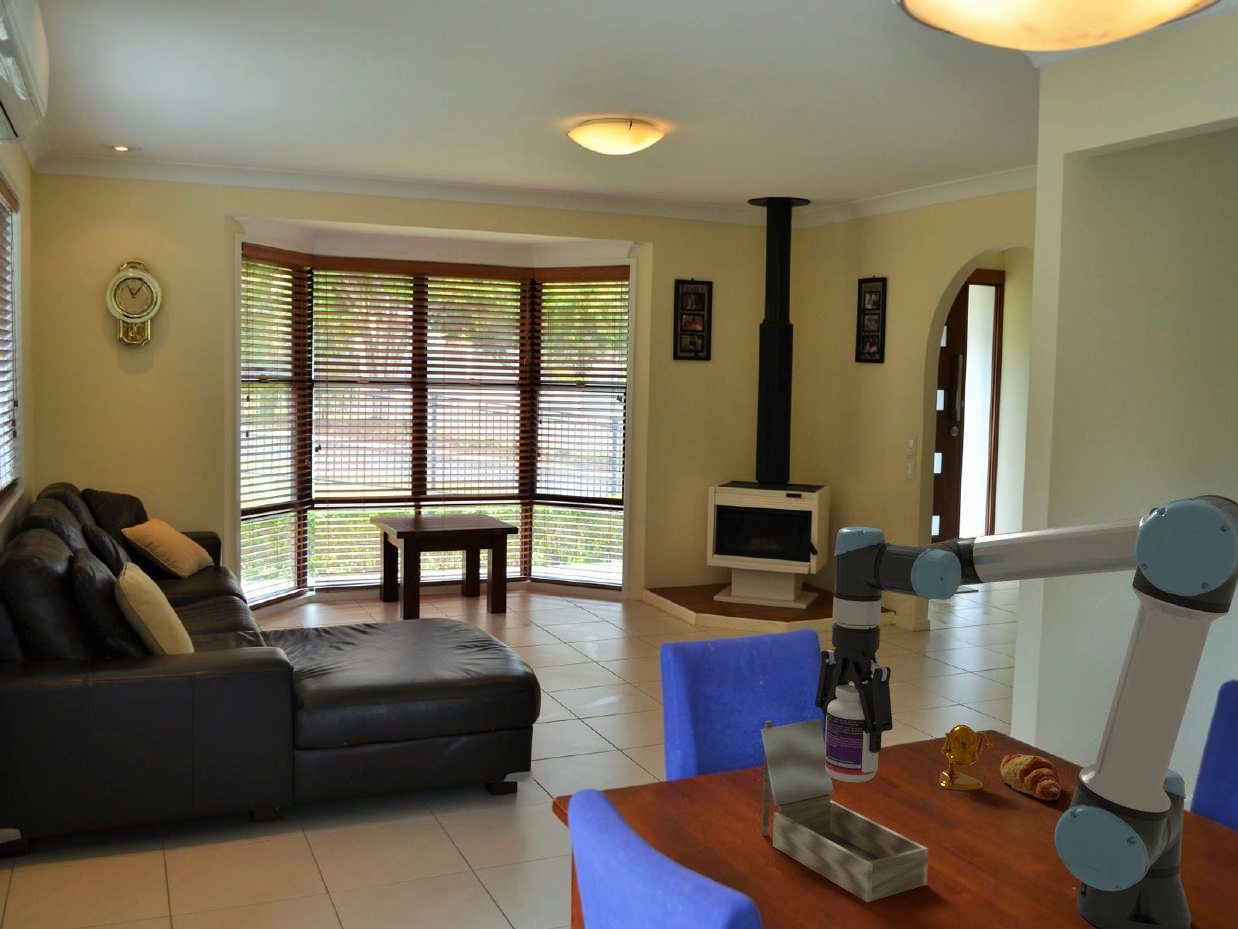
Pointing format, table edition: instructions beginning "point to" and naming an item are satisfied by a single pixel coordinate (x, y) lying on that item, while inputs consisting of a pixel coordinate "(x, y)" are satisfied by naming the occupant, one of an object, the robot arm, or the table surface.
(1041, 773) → the croissant
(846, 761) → the pill bottle
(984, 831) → the table surface
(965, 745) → the figurine
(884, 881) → the grey wooden hinged box
